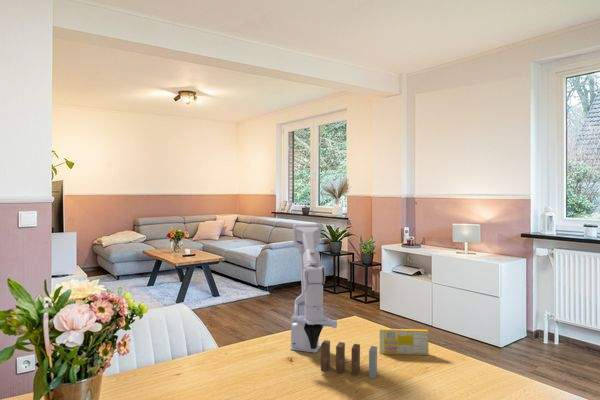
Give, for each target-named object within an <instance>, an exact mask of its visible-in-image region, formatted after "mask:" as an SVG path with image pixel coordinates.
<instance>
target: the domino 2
mask: <svg viewBox="0 0 600 400" xmlns="http://www.w3.org/2000/svg"><path fill="white" fill-rule="evenodd" d="M345 347H346V343H345V341H344V342H341V341H338V342H337V344H336V346H335V373H336V374H343V372H344V370H345V367H346V365H345V364H346V363H345V362H346V361H345V360H346V358H345V357H346V355H345V354H346V353H345V351H346V349H345Z"/></svg>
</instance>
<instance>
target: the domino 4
mask: <svg viewBox="0 0 600 400" xmlns="http://www.w3.org/2000/svg"><path fill="white" fill-rule="evenodd" d="M377 374H378V346H376V345H375V346H374V345H371V346H370V347H369V350H368V378H369V379H376V377H377Z"/></svg>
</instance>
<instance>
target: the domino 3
mask: <svg viewBox="0 0 600 400" xmlns="http://www.w3.org/2000/svg"><path fill="white" fill-rule="evenodd" d="M350 362H351V366H350V367H351V368H350V369H351V375H352V376H358V375H359V372H360V371H361V344H358V343H353V345H352V347H351V361H350Z"/></svg>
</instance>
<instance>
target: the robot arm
mask: <svg viewBox="0 0 600 400" xmlns="http://www.w3.org/2000/svg"><path fill="white" fill-rule="evenodd" d="M321 230H322V229H321V224H320V222H316V223H295V222H294V224H293V225H292V239H293V242H292V243H293V247H294V248H296V249H297V250H298V251H299V255H300V278H301V279H300V280H301V294H300V295H298V297H296V298H295V300H294V308H293V311H294V313H293V315H292V316H290V323H291V329H290V348H289V349H290V350H292V351H300V352H307V353H313V354H316V353H317V352H318V351H319V350H320V349H321V344H322V343H323V342H319V341H320V339H319V337H320V335H321V334H322V333H321V332H322V330H323V328H324V327H328V328H329V327H330V328H332V329H336V328H337V327H338V319H333V318H328V317H324V285H325V283H326V282H325V281H326V271H325V267H324V264H322V261H321V256H320V255H321V254H320V252H319V251H318V250H317V249H316V248H319V245H320V242H321V241H320V240H321V236H322V235H321V234H322V231H321Z"/></svg>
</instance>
